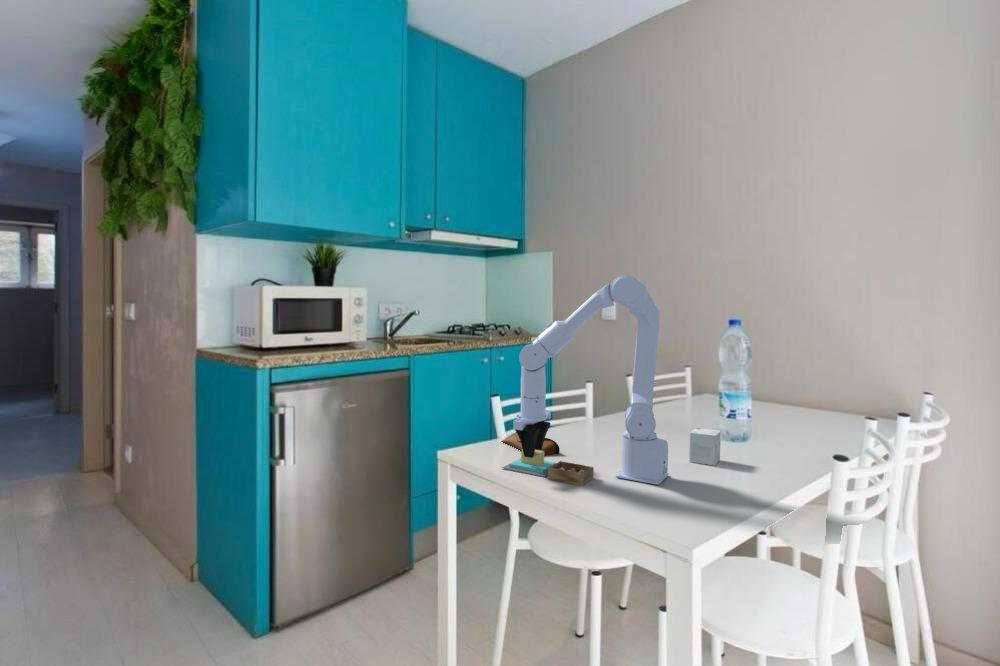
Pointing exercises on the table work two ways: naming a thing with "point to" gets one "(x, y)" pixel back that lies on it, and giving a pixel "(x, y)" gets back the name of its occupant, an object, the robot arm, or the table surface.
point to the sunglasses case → (548, 447)
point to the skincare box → (704, 446)
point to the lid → (532, 463)
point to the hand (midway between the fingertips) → (532, 455)
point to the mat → (526, 471)
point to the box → (570, 473)
